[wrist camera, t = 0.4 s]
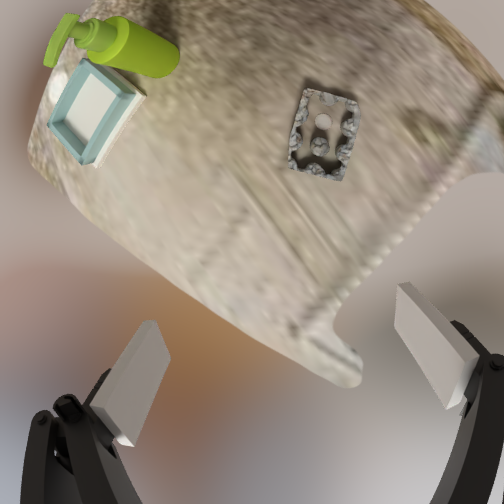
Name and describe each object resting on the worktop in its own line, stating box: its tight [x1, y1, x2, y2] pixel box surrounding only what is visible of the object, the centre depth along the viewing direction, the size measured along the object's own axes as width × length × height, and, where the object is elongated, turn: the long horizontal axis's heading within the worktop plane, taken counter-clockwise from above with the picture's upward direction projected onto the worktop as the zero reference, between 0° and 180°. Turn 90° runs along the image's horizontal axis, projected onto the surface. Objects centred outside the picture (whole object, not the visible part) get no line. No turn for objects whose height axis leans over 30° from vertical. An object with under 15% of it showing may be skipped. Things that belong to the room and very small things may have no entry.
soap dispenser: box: [43, 13, 180, 78], centre depth 21 cm, size 6×7×20 cm
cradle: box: [47, 58, 147, 169], centre depth 32 cm, size 14×14×4 cm
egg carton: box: [288, 88, 361, 181], centre depth 30 cm, size 11×8×4 cm
